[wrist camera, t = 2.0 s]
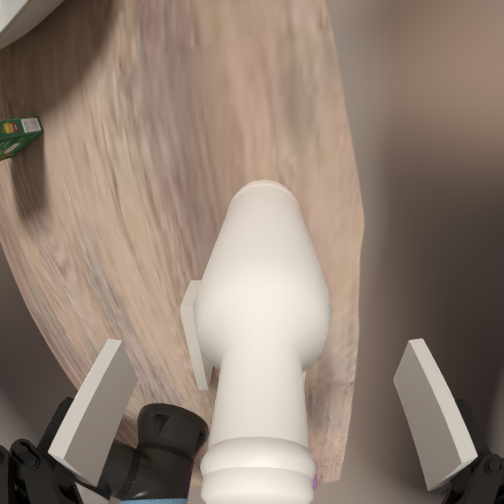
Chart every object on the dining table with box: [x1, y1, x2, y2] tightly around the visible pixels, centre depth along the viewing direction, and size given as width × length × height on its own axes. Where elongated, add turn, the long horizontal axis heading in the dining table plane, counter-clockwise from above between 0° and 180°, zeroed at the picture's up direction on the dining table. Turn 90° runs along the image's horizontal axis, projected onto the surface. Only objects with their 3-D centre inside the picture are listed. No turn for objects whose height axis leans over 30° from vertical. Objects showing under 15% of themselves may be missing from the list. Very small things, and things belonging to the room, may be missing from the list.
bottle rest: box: [180, 281, 306, 390], centre depth 38 cm, size 15×15×6 cm
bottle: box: [193, 179, 333, 504], centre depth 20 cm, size 8×8×30 cm
